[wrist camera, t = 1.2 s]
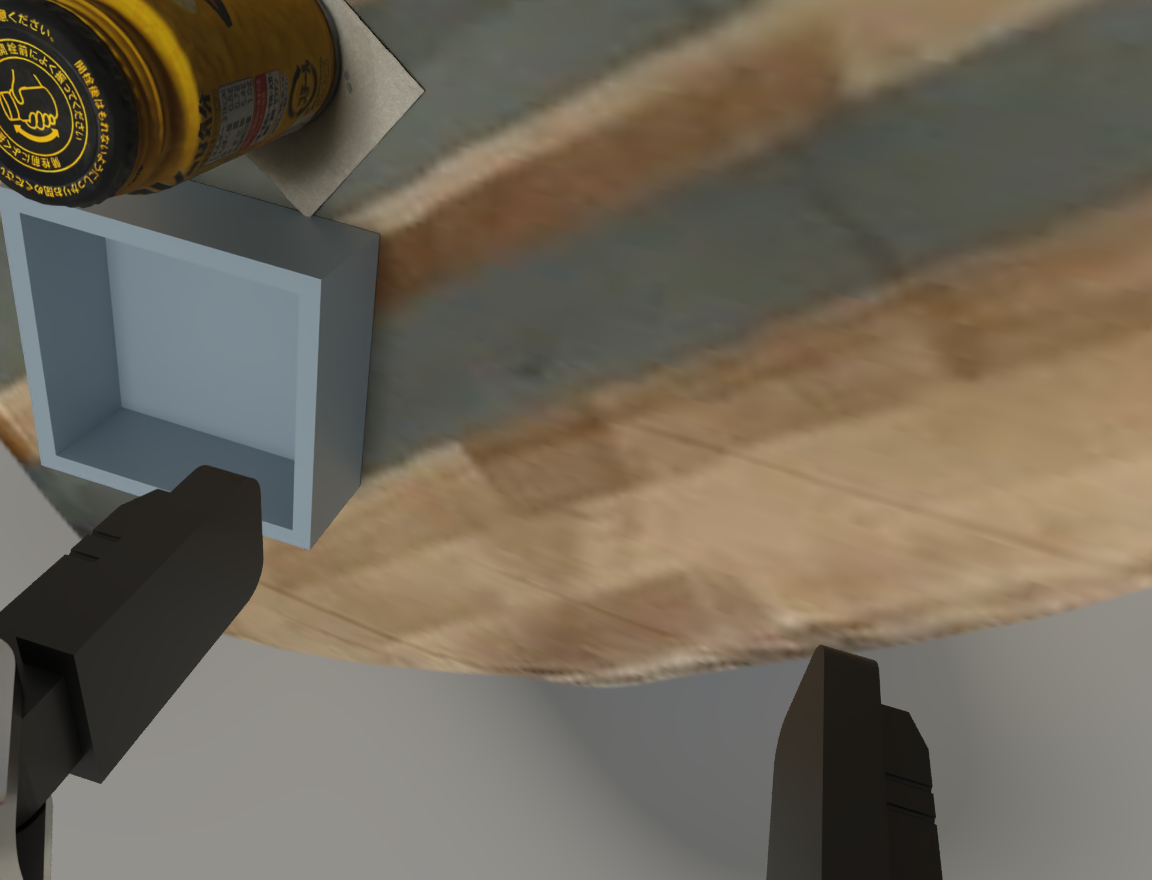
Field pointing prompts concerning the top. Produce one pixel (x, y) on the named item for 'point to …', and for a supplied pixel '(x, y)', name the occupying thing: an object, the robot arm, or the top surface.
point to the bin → (198, 344)
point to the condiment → (189, 95)
